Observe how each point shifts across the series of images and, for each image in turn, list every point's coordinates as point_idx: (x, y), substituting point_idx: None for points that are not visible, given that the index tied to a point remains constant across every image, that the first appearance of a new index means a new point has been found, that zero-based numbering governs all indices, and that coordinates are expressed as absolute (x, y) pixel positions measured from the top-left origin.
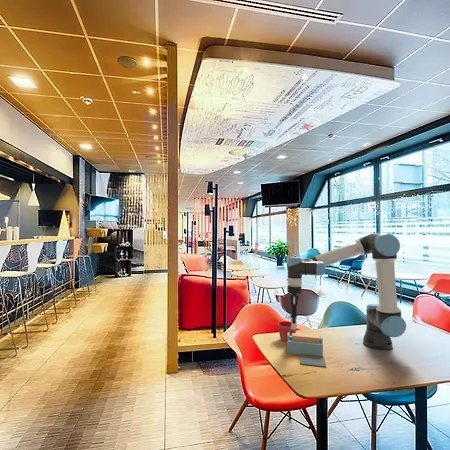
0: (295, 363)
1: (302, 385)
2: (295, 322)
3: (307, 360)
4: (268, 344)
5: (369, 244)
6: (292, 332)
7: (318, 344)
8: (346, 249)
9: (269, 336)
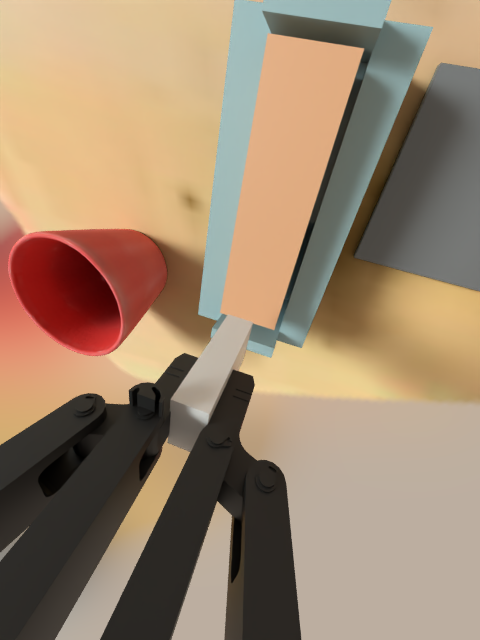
0: (452, 310)
1: None
2: (230, 371)
3: (456, 234)
4: None
5: None
6: (133, 266)
7: (405, 93)
8: None
9: None
